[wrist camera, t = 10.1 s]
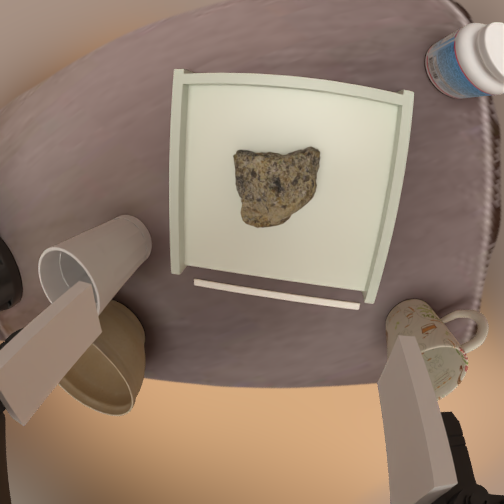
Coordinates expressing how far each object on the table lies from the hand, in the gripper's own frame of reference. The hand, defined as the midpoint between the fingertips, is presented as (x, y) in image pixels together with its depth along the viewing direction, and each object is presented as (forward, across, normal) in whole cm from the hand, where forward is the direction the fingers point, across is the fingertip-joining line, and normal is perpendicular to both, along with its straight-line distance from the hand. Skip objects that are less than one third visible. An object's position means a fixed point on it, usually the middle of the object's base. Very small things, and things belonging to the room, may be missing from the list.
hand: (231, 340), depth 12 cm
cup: (+21, -17, -6) cm, 28 cm away
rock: (+20, -1, +3) cm, 20 cm away
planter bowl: (+21, -21, -20) cm, 36 cm away
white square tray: (+20, 0, +2) cm, 20 cm away
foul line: (+20, +1, -10) cm, 23 cm away
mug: (+20, +19, -10) cm, 29 cm away
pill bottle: (+21, +16, +17) cm, 31 cm away
